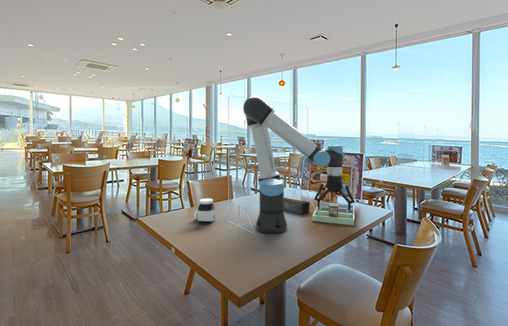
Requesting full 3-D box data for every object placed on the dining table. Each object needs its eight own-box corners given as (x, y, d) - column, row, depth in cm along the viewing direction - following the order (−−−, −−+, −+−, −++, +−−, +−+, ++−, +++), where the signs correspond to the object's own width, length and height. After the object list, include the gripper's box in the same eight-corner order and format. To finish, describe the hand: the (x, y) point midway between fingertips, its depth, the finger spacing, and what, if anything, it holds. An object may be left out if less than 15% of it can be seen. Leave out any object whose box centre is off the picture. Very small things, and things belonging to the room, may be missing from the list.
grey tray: (317, 210, 161) (317, 205, 160) (319, 207, 169) (319, 202, 169) (354, 214, 154) (354, 209, 153) (354, 210, 162) (354, 205, 162)
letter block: (328, 221, 141) (329, 205, 140) (329, 218, 145) (329, 203, 145) (337, 222, 140) (338, 206, 139) (338, 219, 144) (338, 204, 143)
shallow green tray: (315, 215, 151) (315, 210, 151) (317, 211, 160) (317, 206, 160) (354, 219, 144) (354, 214, 144) (354, 214, 153) (354, 209, 153)
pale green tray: (312, 220, 142) (312, 215, 142) (314, 216, 151) (314, 210, 150) (354, 225, 135) (354, 219, 135) (354, 219, 144) (354, 214, 143)
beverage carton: (284, 206, 172) (284, 196, 172) (310, 212, 159) (310, 201, 158) (276, 208, 167) (276, 198, 166) (302, 215, 153) (302, 203, 153)
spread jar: (210, 225, 136) (209, 202, 135) (189, 223, 138) (188, 201, 137) (217, 218, 148) (217, 197, 147) (198, 216, 150) (198, 196, 149)
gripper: (360, 174, 139) (358, 214, 142) (311, 172, 148) (310, 210, 150) (360, 177, 132) (358, 219, 135) (309, 174, 141) (308, 214, 143)
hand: (333, 214), depth 142 cm, fingers open, 13 cm apart
